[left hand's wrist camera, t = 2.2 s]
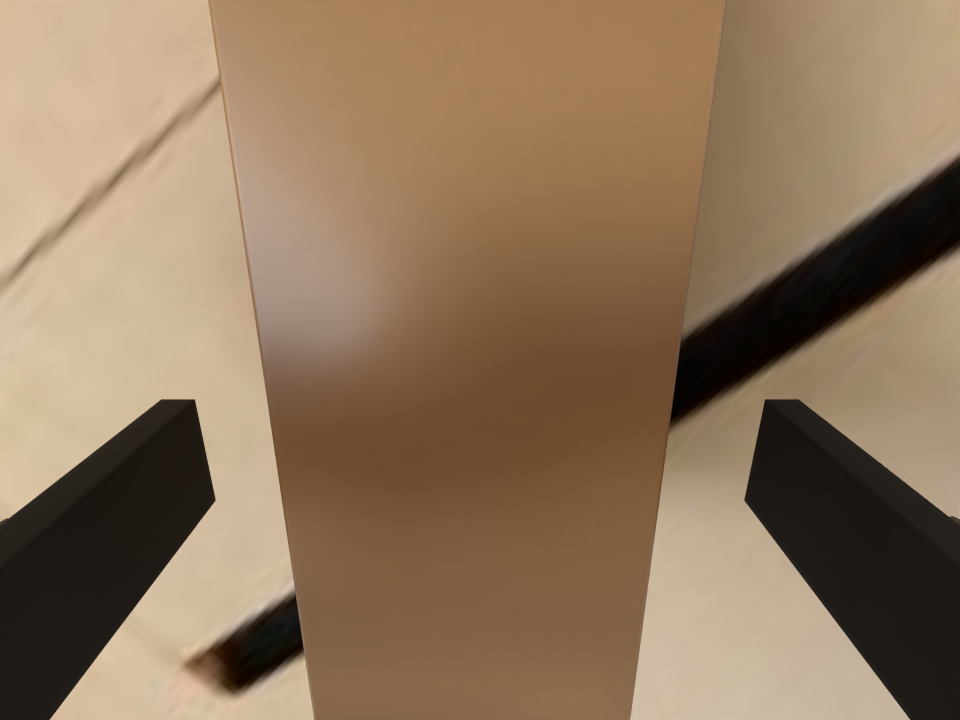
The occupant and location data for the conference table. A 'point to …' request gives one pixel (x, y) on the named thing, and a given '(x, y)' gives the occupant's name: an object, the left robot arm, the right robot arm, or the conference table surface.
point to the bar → (469, 330)
